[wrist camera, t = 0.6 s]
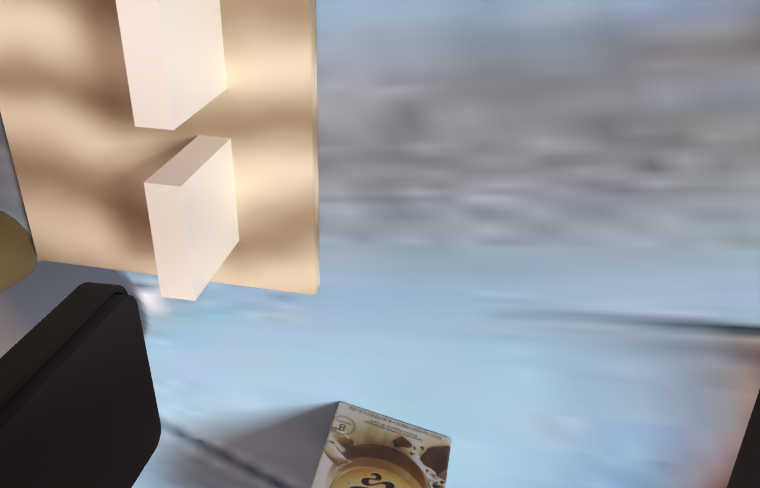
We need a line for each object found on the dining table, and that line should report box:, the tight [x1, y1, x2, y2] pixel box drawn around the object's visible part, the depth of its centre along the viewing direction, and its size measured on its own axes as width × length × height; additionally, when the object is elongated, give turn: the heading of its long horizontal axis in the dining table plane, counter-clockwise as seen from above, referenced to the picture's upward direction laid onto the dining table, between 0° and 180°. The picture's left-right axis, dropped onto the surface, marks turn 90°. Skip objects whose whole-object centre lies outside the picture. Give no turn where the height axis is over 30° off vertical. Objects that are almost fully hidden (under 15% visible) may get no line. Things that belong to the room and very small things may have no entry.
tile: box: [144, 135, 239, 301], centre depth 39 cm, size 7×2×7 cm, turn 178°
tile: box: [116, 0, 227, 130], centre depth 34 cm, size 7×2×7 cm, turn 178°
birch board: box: [0, 0, 320, 295], centre depth 41 cm, size 24×20×1 cm
